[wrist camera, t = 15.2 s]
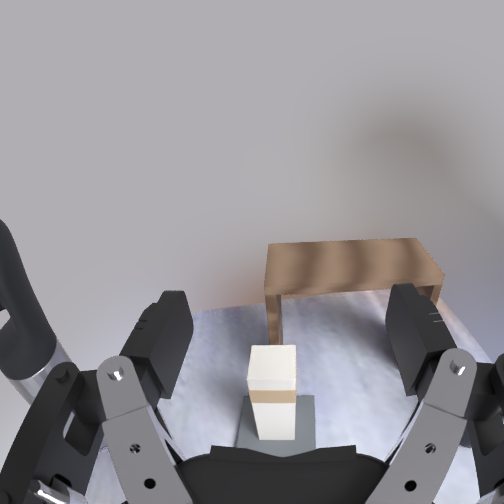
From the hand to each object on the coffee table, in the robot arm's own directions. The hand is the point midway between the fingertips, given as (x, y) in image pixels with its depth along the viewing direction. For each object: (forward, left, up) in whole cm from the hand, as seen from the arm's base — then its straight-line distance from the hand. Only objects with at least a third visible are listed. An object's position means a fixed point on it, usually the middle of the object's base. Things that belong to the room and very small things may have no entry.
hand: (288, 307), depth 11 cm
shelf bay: (+8, +23, -30) cm, 39 cm away
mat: (-2, +10, -30) cm, 32 cm away
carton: (-2, +10, -29) cm, 31 cm away
